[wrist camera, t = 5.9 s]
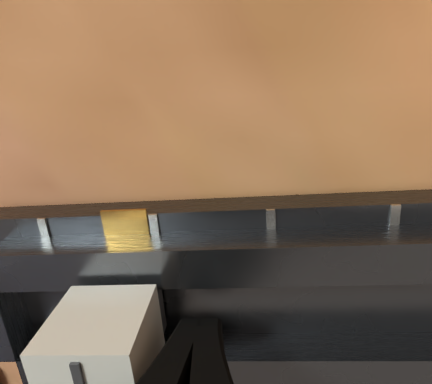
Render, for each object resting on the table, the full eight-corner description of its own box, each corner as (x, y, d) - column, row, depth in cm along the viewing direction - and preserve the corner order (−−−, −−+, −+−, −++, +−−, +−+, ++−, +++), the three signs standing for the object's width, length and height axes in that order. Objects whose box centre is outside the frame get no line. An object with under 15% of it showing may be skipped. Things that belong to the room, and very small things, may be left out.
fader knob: (177, 345, 15) (148, 467, 10) (107, 346, 15) (51, 465, 11) (165, 259, 13) (127, 358, 9) (89, 262, 14) (17, 358, 9)
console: (536, 356, 15) (590, 414, 13) (40, 357, 17) (6, 407, 15) (584, 177, 13) (664, 207, 10) (-6, 202, 15) (-55, 232, 12)
